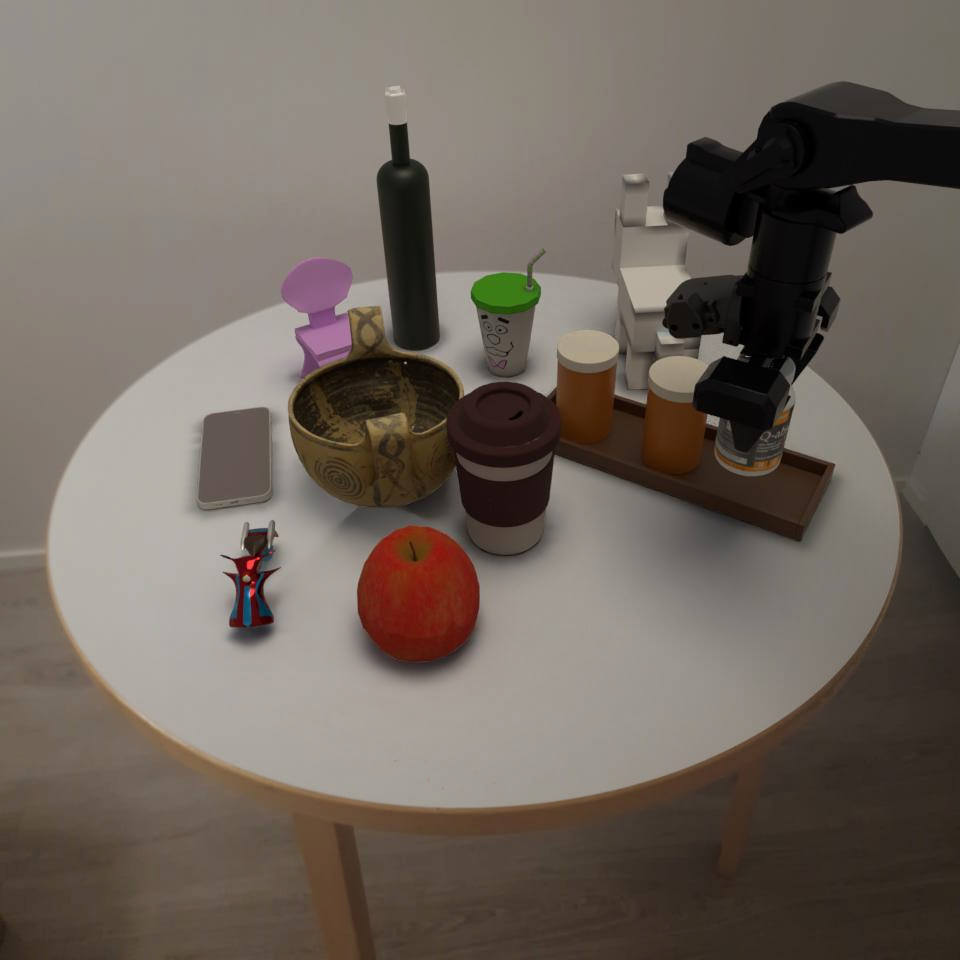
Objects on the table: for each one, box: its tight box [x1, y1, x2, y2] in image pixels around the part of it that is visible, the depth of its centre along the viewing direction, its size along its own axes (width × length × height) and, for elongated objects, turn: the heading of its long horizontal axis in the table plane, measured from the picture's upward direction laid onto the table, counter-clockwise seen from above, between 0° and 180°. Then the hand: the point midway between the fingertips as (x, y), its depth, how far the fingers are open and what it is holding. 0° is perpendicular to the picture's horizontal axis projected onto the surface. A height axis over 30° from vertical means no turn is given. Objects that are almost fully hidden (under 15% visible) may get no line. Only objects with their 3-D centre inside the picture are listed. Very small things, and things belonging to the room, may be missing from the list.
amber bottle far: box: [556, 329, 620, 444], centre depth 95 cm, size 6×6×10 cm
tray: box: [546, 386, 836, 542], centre depth 93 cm, size 30×10×2 cm, turn 58°
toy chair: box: [280, 256, 354, 378], centre depth 101 cm, size 8×9×15 cm
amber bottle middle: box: [641, 356, 710, 474], centre depth 90 cm, size 6×6×10 cm
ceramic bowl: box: [287, 305, 465, 509], centre depth 88 cm, size 22×17×15 cm
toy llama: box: [611, 171, 702, 391], centre depth 102 cm, size 8×18×20 cm, turn 3°
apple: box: [356, 524, 481, 664], centre depth 75 cm, size 10×10×10 cm
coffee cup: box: [446, 381, 562, 556], centre depth 82 cm, size 10×10×15 cm
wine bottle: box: [375, 84, 441, 351], centre depth 103 cm, size 6×6×30 cm
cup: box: [470, 248, 546, 378], centre depth 103 cm, size 8×8×15 cm
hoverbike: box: [219, 519, 282, 629], centre depth 80 cm, size 5×12×6 cm, turn 5°
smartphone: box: [196, 406, 273, 510], centre depth 96 cm, size 7×1×15 cm
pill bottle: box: [714, 356, 797, 476], centre depth 77 cm, size 6×6×10 cm
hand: (752, 430), depth 78 cm, fingers closed on pill bottle, 5 cm apart
